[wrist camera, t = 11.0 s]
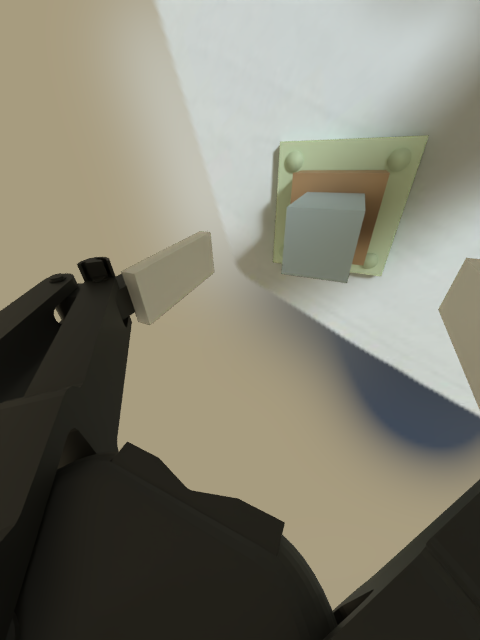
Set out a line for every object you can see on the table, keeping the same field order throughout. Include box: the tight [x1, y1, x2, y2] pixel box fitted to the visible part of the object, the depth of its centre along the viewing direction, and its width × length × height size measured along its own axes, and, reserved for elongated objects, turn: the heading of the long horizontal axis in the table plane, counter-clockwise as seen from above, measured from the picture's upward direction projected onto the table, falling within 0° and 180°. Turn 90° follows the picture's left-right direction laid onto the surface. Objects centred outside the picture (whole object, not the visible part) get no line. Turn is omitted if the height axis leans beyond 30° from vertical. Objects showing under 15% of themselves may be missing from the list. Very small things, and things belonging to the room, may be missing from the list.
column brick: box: [281, 192, 365, 283], centre depth 20 cm, size 5×5×8 cm
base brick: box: [290, 170, 390, 266], centre depth 25 cm, size 8×8×4 cm
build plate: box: [273, 135, 429, 276], centre depth 27 cm, size 13×13×1 cm
